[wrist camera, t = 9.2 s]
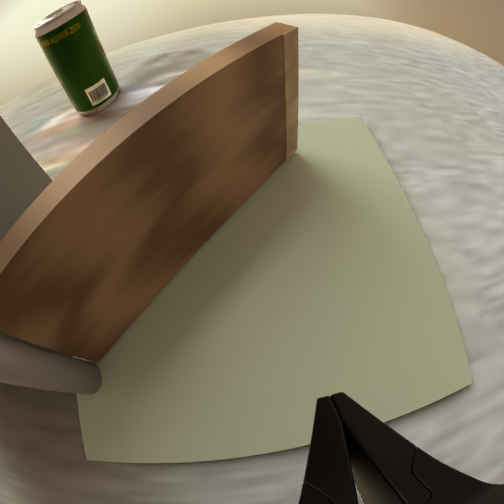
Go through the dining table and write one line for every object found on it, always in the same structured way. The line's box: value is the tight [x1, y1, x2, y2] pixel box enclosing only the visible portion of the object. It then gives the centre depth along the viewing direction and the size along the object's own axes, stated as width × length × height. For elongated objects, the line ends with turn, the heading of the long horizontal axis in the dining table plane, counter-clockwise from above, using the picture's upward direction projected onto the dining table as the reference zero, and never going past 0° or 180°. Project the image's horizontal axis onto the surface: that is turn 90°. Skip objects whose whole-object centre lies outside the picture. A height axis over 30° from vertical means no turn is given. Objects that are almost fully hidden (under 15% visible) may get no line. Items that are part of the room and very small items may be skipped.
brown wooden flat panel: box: [0, 22, 298, 362], centre depth 13 cm, size 18×1×9 cm, turn 140°
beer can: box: [34, 0, 119, 115], centre depth 22 cm, size 5×5×12 cm
